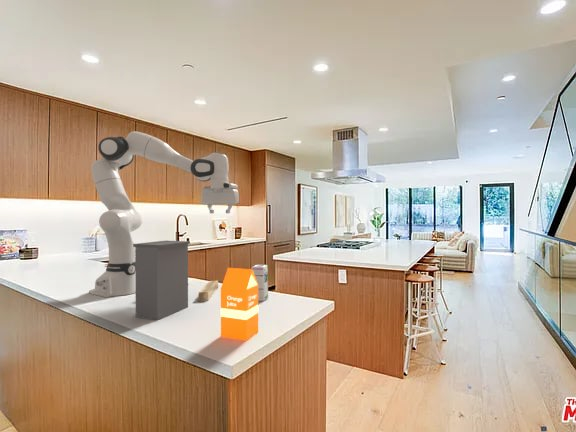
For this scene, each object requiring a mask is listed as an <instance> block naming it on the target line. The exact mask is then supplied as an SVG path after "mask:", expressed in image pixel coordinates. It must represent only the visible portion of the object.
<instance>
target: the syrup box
mask: <svg viewBox="0 0 576 432" xmlns="http://www.w3.org/2000/svg"><path fill="white" fill-rule="evenodd" d="M250 269H252V270H253V273H254V275H255V278H256V281H257V283H258V302H265V301H266V300H268V298H269V277H268V274H269V273H268V271H269V270H268V264H255V265H253V266H251V268H250Z"/></svg>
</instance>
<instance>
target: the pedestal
mask: <svg viewBox="0 0 576 432" xmlns="http://www.w3.org/2000/svg"><path fill="white" fill-rule="evenodd" d="M189 245H191V241H190V240H189V241H188V240H187V241H186V240H157V241H150V242H141V243H134V244H133V247H135V269H136V293H135V318H139V319H141V318H142V319H148V320H154V321H159V320H161V319H164V318H167V317H169V316H172V315H174V314H175V313H178V312H179V313H180V311H183V310H185V309H187V308H189Z"/></svg>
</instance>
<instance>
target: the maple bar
mask: <svg viewBox="0 0 576 432" xmlns="http://www.w3.org/2000/svg"><path fill="white" fill-rule="evenodd" d="M218 289H219V280H209V281H208V282H207V283H206V284H204V286H203V287H202V288H201V289H200V291H198V302H208V301H210V299H211V298H212V297H213V295H214V294H215V293H216V292H217V291H218Z"/></svg>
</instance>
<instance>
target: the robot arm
mask: <svg viewBox="0 0 576 432" xmlns="http://www.w3.org/2000/svg"><path fill="white" fill-rule="evenodd" d="M98 151H99V153H100V155H101V157H102V158H99V159H97V160H95V161H93V162H92V163H91V166H90V167H91V168H90V169H91V175H92V180H93V182H94V186H95V189H96V192H97V195H98V198H99V200H100V202H101V203H102V204H103V205H104V206H105V207H106V208H107V211H105V212H103V213H102V214H100V216H99V220H98V225H99V227H100V229H101V230H102V231H103V232H104V235H105V237H106V240H107V241H106V242H107V246H108V263H105V264H104V268H106V269H105V271H104V272H103V273H102V274H101V275H100V276H99V277H97V278H96V280H95V281H94V288H93V289H90V290H89V291H88V294H92V295H95V296H98V297H99V296H100V297H103V298H106V297H107V298H108V297H115V296H116V297H117V296H118V297H119V296H126V295H132V294H136V269H135V247H133V244H135V242H134V241H133V238H132V235H131V232H134V231H136V230H137V229H139V228H140V227H141V226H142V223H143V222H142V221H143V217H142V215H141V214H140V213H139V212H138V211H137V210H136V209H135V206H134V205H133V203H132V202H131V199H130V198H129V197H128V194H127V192H126V189H125V187H124V184H123V181H122V179H121V177H120V173H119V170H122V169H124V168H125V167H127V166H128V167H129V165H131V164H132V163H133V161H134V159H135V156H140V157H142V158H145V159H147V160H150V161H153V162H157V163H160V164H164V165H170V166H173V167H176V168H179V169H181V170H184V171H185V172H188V173H190V174H192V175H193V176H194V177H195V178H196V179H197V180H198V181H200V182H209V181H210V185H208V186H207V185H205V186H204V187H203V188H202V189H201V198H200V203H201V204H202V205H207V208H208V210H209V214H214V213H215V210H214V209H213V205H227V209H225V214H231V209H232V208H233V205H237V204H239V202H240V195H239V191H238V187H239V186H238V184H235V183H232V182H229V171H230V170H229V158H228V156H227V155H226V154H224V153H221V152H217V151H216V152H212V153H211V154H209V155H207V156H205V157H200V158H197V159H194V160H192V159H190V158H188V157H186V156H183V155H181V154H180V153H178V152H177V151H176V150H175V149H173V148H172V146H170V145H169V144H168V143H167V142H164V141H163V140H162V139H160V138H158V137H155V136H154V135H151V134H148V133H144V132H141V131H135V130H134V131H131V132H129V133H128V134H127V136H126V138H125V137H123V136H109V137H108V136H107V137H104V138H102V139H101V140H100V141H99V143H98Z"/></svg>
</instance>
